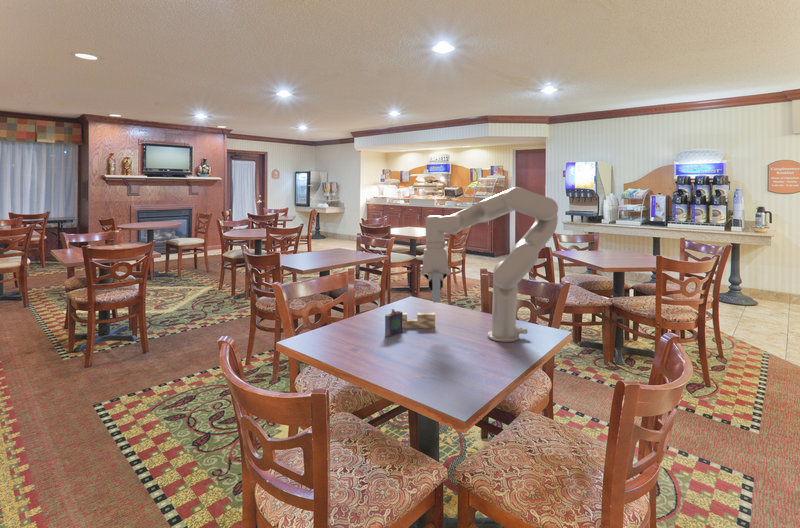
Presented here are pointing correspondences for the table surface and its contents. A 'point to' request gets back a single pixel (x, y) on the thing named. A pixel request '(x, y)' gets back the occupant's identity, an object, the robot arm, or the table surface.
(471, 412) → the table surface
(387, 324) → the flask
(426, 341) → the table surface
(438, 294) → the flat gray plate
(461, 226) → the robot arm
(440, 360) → the table surface
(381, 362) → the table surface
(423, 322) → the rail
